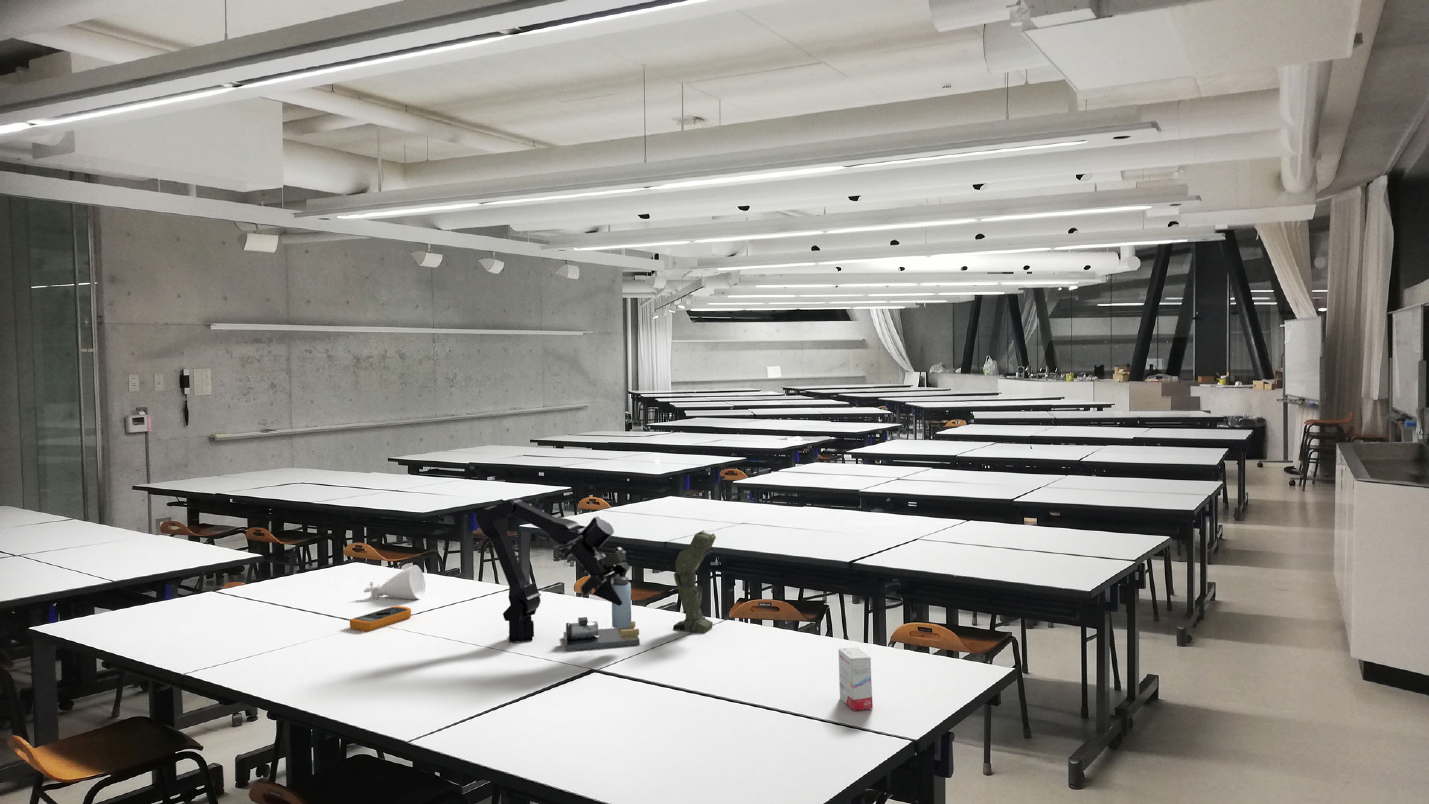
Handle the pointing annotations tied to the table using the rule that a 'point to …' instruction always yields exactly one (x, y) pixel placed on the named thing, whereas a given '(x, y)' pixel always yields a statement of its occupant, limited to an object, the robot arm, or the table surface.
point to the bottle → (622, 612)
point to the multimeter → (380, 618)
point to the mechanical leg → (692, 583)
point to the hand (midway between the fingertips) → (625, 602)
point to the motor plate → (598, 636)
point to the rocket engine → (401, 585)
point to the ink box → (855, 678)
